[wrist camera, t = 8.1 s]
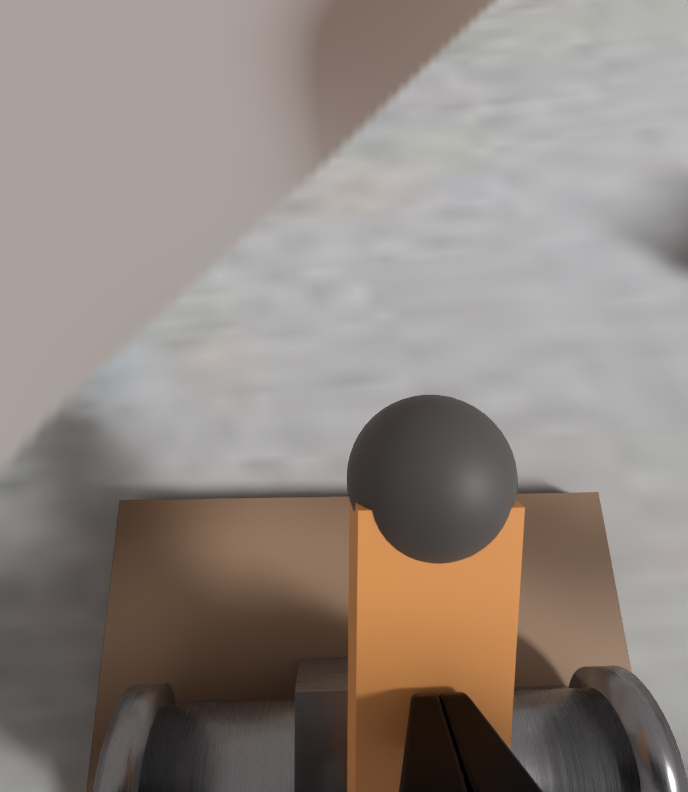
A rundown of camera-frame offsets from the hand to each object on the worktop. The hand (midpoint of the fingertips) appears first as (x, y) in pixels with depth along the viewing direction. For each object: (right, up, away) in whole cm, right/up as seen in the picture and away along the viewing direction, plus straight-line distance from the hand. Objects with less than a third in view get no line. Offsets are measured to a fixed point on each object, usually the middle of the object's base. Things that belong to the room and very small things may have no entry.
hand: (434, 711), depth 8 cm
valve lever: (0, -3, +1) cm, 3 cm away
